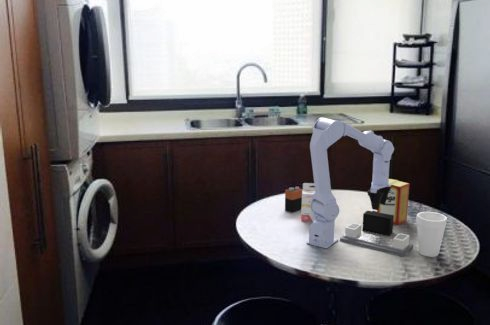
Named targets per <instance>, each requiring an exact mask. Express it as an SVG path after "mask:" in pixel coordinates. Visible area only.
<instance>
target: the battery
mask: <svg viewBox="0 0 490 325" xmlns="http://www.w3.org/2000/svg"><path fill="white" fill-rule="evenodd" d="M302 190H303V188H300V186H295V187H289V188H288V189H285V192H284V193H285V194H284V196H285V197H284V199H285V200H284V206H285V207H284V211H287V212H289V213H291V214H292V213H295V212H298V211H301V209H302Z"/></svg>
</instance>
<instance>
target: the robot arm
mask: <svg viewBox="0 0 490 325" xmlns="http://www.w3.org/2000/svg"><path fill="white" fill-rule="evenodd" d="M346 136H348V137H350V138H352V139H354V140H356V141H357V142H358V144H359V145H360V146H361V147H363V148H365V149H367V150H369V151H371V152H372V154H373V160H372V179H371V180H372V181H371V187H370V189H368V190H367V196H368V197H369V199H370V205H371V209H372V210H373V211H377V210H378V209H379V205H380V204H385V203H386V199H387V196H388V193H389V191H390V189H391V188H392V186H391V184H389V179H390V178H389V177H390V163H391V162H390V160H392V154H394V151H395V147H394V145H393V143H392V141H390V140H387V139H384V138H383V136H382V135H377V134H375V132H374V131H373V130H365V131H361V130H359V129H357V128H356V127H354V126H352V125H351V124H349V123H347V122H343V121H340V120H335V119H332V118H331V119H330V118H327V117H324V116H323V117H319V118H318V119H317V120H316V121H315V122H314V123H313V125H312V135H311V138H310V142H309V151H310V157H311V158H310V159H311V167H312V176H313V183H314V185H315V186H314V188H315V193H314V194H313V195H312V201H311V205H310V207H311V210H312V212H314V214H313V215H314V221H313V222H312V223H311V224H310V225H309V227H308V231H309V232H308V236H309V237H308V241H306V244H308V245H311V246H315V247H320V248H323V249H327V248H329V247H331V246H332V245H333V244H335V243H336V242H338V241H339V238H338V237H337V238H336V237H335V221H336V219H337V218H338V216H339V215H340V214H339V213H340V206H339V205H338V203H337V199H336V196H335V195H334V194H333V192H332V187H331V179H330V178H331V177H330V170H329V169H330V168H329V167H330V166H329V160H328V159H329V157H328V149H329V148H330V146H332V145H333V144H334V143H336V142H337V141H338V140H340V139H342V137H346Z"/></svg>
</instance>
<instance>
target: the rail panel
mask: <svg viewBox="0 0 490 325" xmlns="http://www.w3.org/2000/svg"><path fill="white" fill-rule="evenodd" d="M339 241H340V242H342V243H349V244H352V245H355V246H359V247H362V248H363V247H364V248H369V249H371V250H376V251H380V252H384V253H388V254H392V255H395V256H400V257H404V256H405V255H406V254H407V253H409V251H410V250H411V249H412V248H413V247H414V243H412V242H409V244H408V245H407V246H406V247H405V248H404V249H400V248H395V247H393V238H390V237H385V236H382V235H378V234H377V235H376V234H374V233H369V232H365V231H361V233H360V234H358V235H357V236H356V237H350V236H346V235H345V234H344V235H342V236H341V237H340V238H339Z"/></svg>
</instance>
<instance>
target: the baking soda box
mask: <svg viewBox="0 0 490 325" xmlns="http://www.w3.org/2000/svg"><path fill="white" fill-rule="evenodd" d="M388 179H389V184H391V186H392V188H391V189H390V191H389V193H388V196H387V199H386V203H385V204H380V205H379V209H378V210H376V212H378V213H384V214H389V215H394V221H393V225H394V224H395V226H399V224H400V225H402V224H404V223H406V222H408V220H407V219H408V207H409V196H410V183H409V182H404V181H400V180H398V179H393V178H388Z"/></svg>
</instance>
